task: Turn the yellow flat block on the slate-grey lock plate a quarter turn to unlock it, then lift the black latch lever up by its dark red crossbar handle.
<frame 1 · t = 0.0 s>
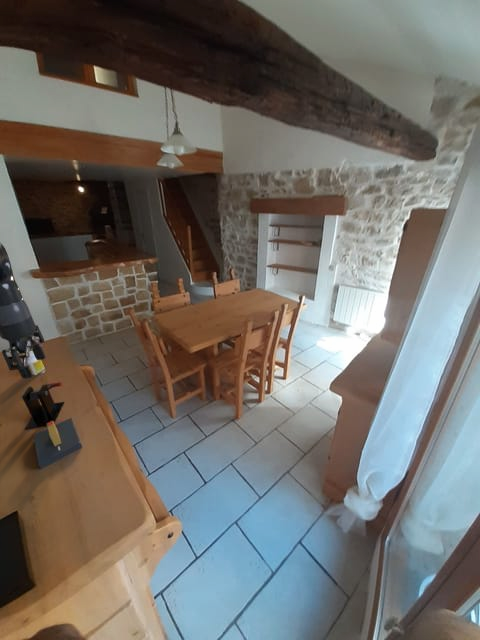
hand: (35, 367, 72), 23 cm above the counter, tool pointing down, fingers open, 8 cm apart
latch bracket: (46, 417, 85), on the counter
yellow flat block: (53, 433, 73), point 5 cm above the counter, hinge at 0.0°
latch lever: (44, 389, 85), point 8 cm above the counter, hinge at -25.0°
supplement bottle: (37, 373, 105), on the counter
lock plate: (59, 445, 76), on the counter
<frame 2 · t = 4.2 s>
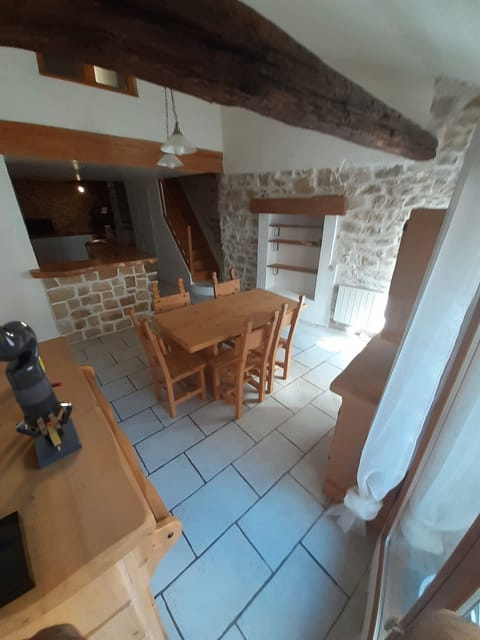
hand: (55, 438, 74), 3 cm above the counter, tool pointing down, fingers closed on yellow flat block
yellow flat block: (53, 433, 73), point 5 cm above the counter, hinge at 0.0°, touching gripper
everything else where it was.
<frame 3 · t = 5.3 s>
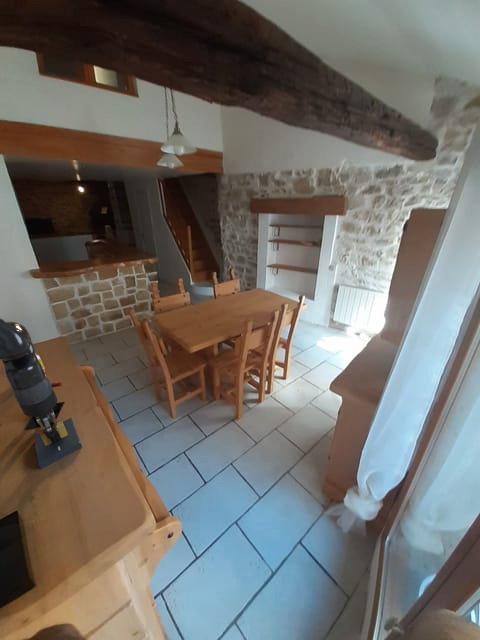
hand: (56, 437, 74), 3 cm above the counter, tool pointing down, fingers closed
yellow flat block: (53, 433, 73), point 5 cm above the counter, hinge at 90.2°
everything else where it was.
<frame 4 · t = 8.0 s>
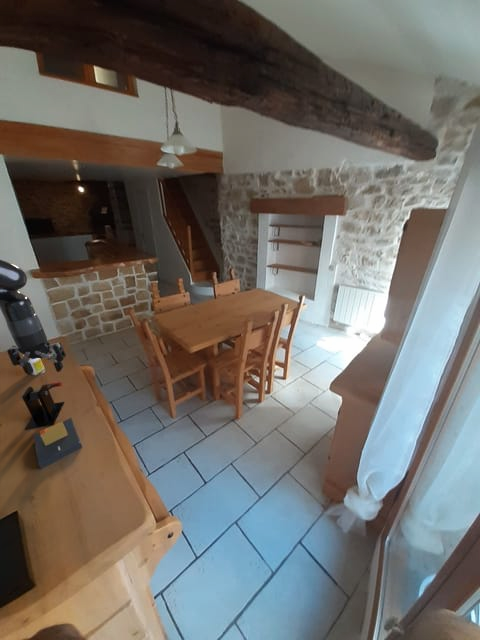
hand: (45, 371, 83), 15 cm above the counter, tool pointing down, fingers open, 8 cm apart
nothing on the counter moved.
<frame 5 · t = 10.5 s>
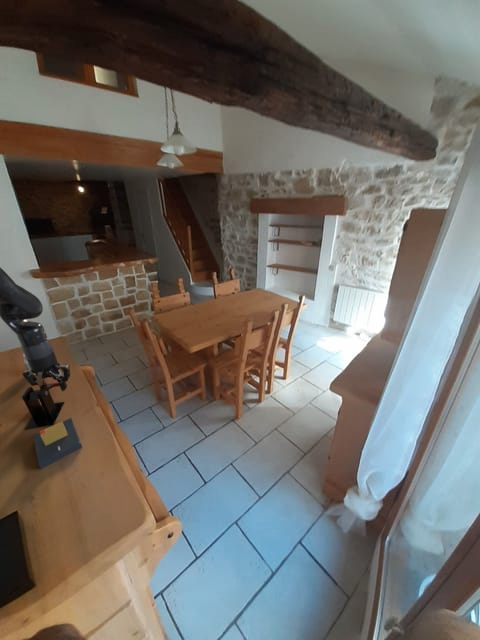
hand: (55, 390, 92), 3 cm above the counter, tool pointing down, fingers closed on latch lever, 5 cm apart
latch lever: (44, 389, 85), point 8 cm above the counter, hinge at -25.0°, touching gripper
everything else where it was.
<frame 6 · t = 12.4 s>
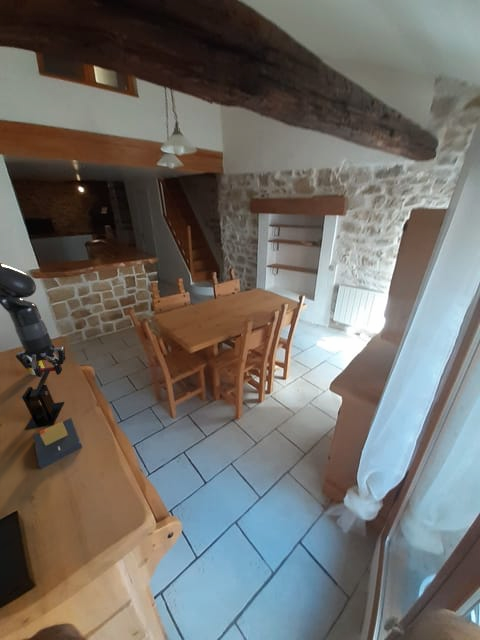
hand: (50, 374, 90), 10 cm above the counter, tool pointing down, fingers closed on latch lever, 5 cm apart
latch lever: (42, 382, 84), point 11 cm above the counter, hinge at 9.3°, touching gripper
everything else where it was.
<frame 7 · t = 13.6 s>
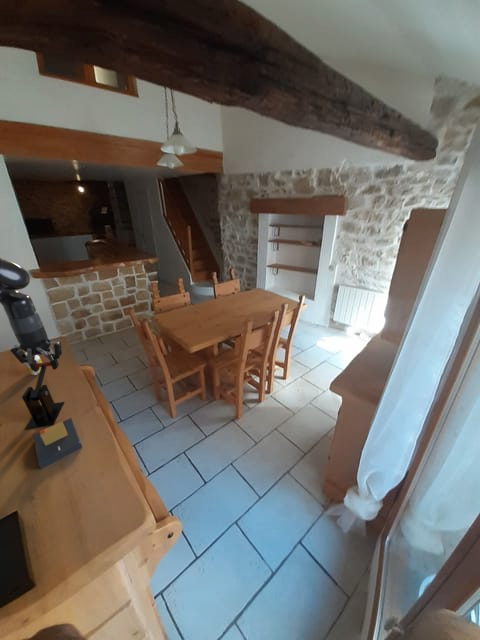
hand: (46, 369, 88), 13 cm above the counter, tool pointing down, fingers closed on latch lever, 5 cm apart
latch lever: (40, 380, 83), point 12 cm above the counter, hinge at 24.6°, touching gripper
everything else where it was.
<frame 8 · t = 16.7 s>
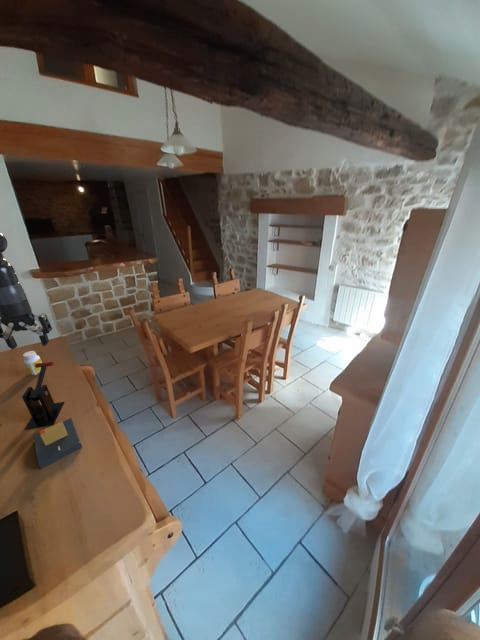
hand: (30, 346, 80), 24 cm above the counter, tool pointing down, fingers open, 8 cm apart
latch lever: (40, 380, 83), point 12 cm above the counter, hinge at 24.4°
everything else where it was.
at the end: yellow flat block at +90° (first picture: +0°); latch lever at +24° (first picture: -25°) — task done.
